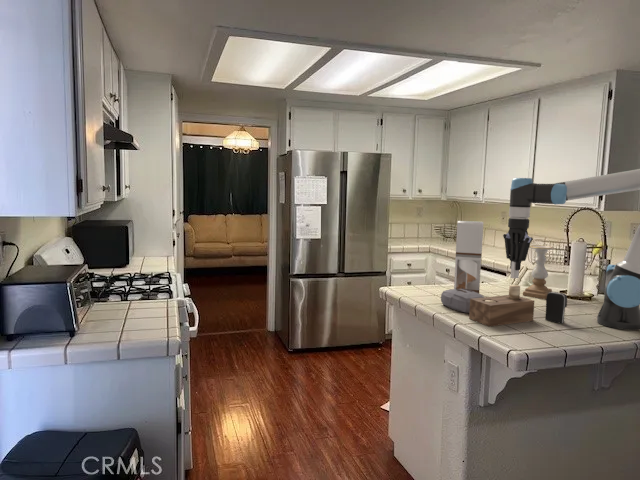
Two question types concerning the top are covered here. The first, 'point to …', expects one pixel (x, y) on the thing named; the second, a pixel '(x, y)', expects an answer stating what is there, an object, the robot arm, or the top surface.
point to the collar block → (501, 310)
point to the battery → (555, 306)
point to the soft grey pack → (459, 299)
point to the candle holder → (539, 274)
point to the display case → (468, 255)
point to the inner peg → (514, 292)
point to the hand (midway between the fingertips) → (514, 277)
